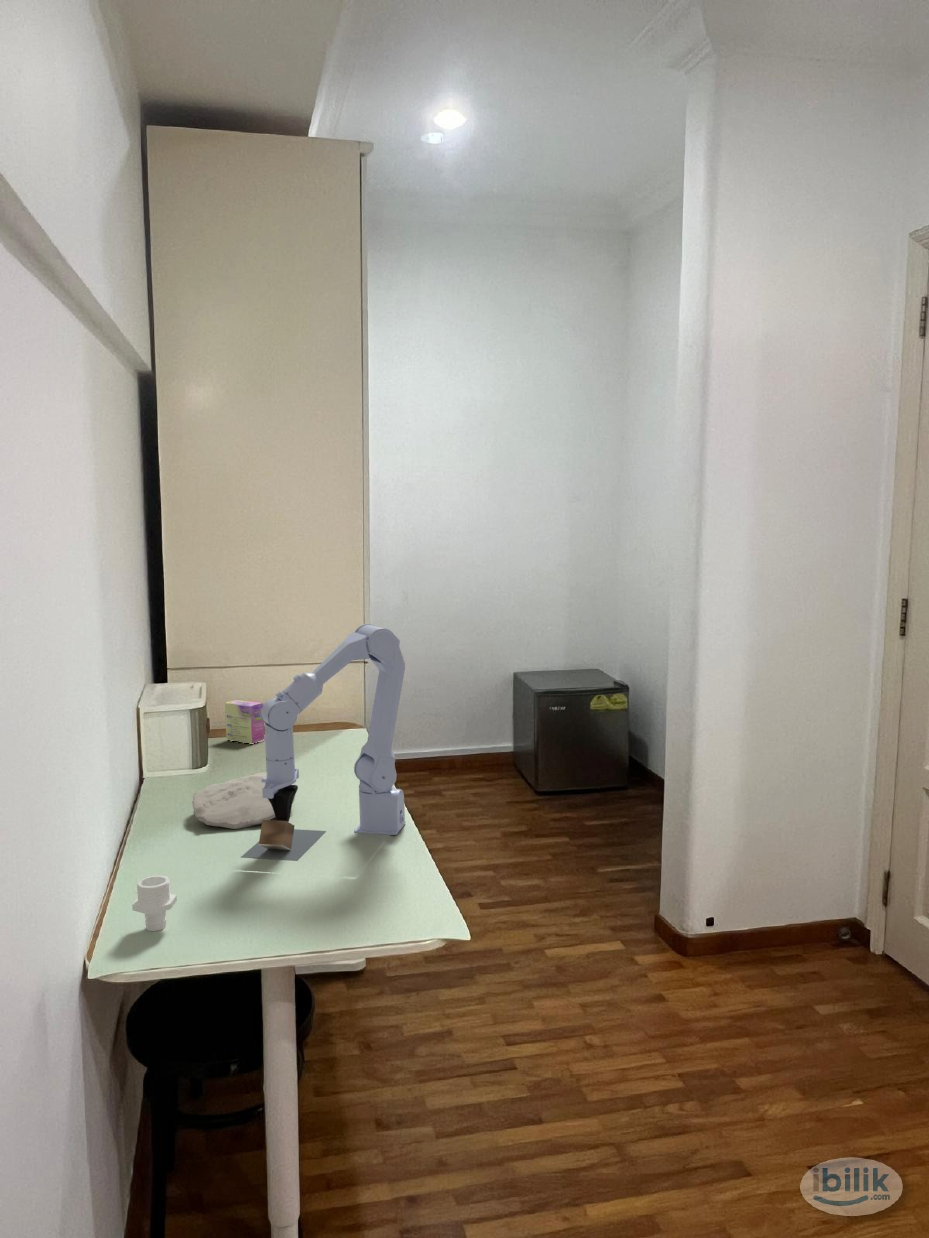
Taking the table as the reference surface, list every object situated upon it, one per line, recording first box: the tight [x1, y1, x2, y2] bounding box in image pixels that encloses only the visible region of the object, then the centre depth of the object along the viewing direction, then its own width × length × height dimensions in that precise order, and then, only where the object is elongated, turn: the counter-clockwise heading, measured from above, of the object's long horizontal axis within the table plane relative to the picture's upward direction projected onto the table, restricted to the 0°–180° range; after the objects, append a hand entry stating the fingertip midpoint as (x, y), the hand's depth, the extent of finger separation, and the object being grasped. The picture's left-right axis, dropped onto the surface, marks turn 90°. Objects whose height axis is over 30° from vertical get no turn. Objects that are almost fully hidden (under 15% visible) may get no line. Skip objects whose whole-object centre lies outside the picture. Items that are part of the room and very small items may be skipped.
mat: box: [240, 828, 327, 862], centre depth 194 cm, size 12×17×1 cm
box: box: [224, 699, 265, 744], centre depth 281 cm, size 10×6×12 cm, turn 60°
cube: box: [258, 819, 295, 850], centre depth 190 cm, size 5×5×5 cm
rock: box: [192, 771, 296, 830], centre depth 218 cm, size 8×23×30 cm
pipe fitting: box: [131, 875, 178, 932], centre depth 157 cm, size 6×7×8 cm
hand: (283, 821), depth 193 cm, fingers closed
